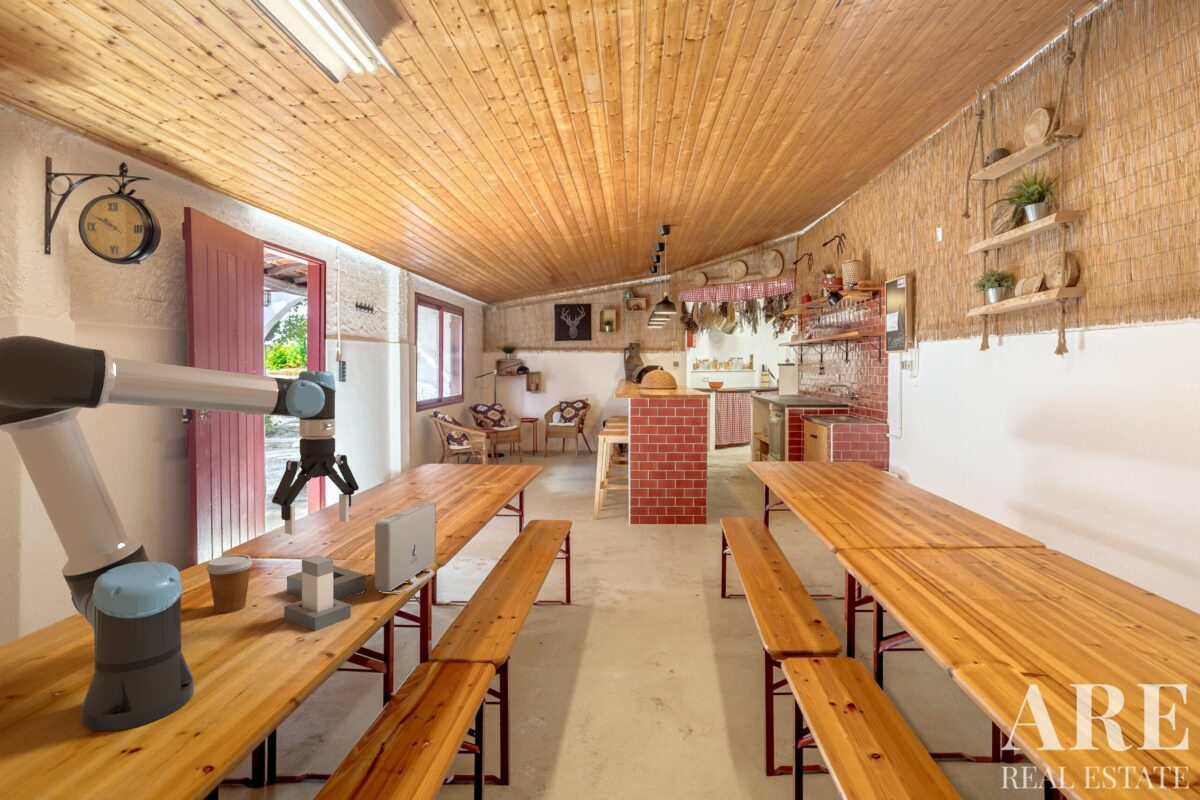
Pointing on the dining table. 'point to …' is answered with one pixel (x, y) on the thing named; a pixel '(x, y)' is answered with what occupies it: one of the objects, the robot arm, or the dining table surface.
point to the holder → (317, 615)
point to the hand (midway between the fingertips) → (318, 527)
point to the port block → (343, 583)
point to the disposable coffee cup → (229, 582)
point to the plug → (317, 583)
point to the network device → (405, 547)
